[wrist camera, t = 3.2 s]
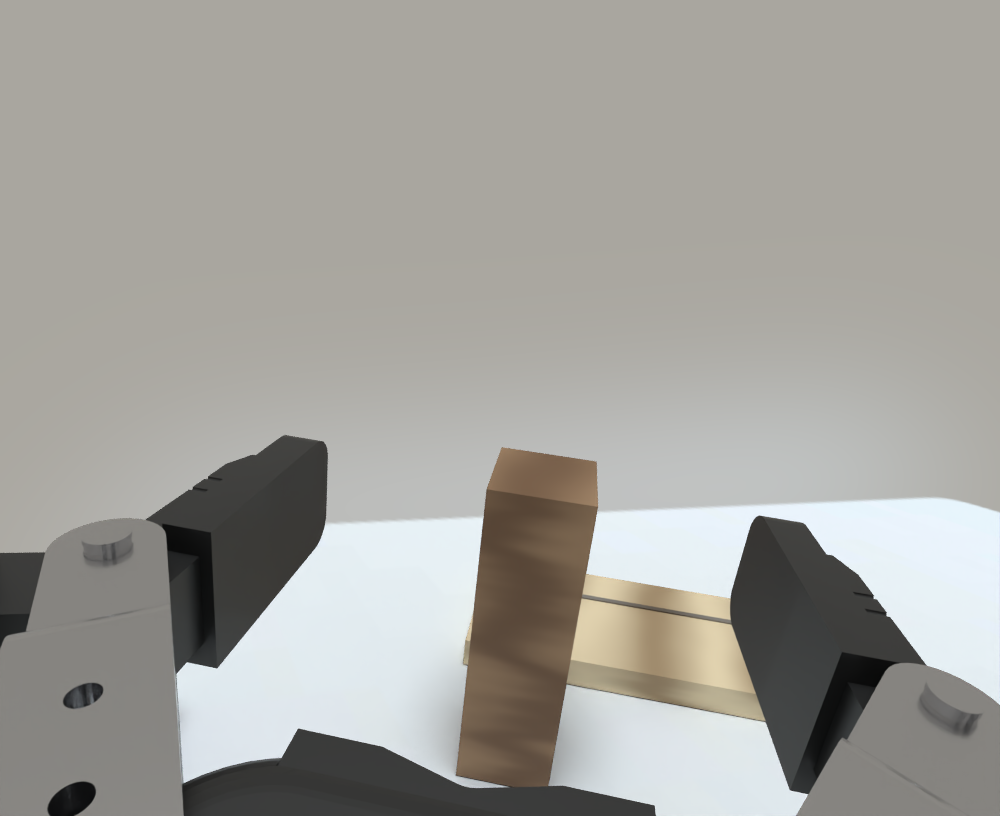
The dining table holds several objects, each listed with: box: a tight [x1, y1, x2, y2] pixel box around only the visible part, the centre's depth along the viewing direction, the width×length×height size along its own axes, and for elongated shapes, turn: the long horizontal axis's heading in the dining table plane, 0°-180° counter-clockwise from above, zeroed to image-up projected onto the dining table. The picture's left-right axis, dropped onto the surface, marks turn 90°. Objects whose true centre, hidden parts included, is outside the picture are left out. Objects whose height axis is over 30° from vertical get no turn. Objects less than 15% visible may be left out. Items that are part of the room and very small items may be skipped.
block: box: [456, 447, 598, 787], centre depth 30 cm, size 4×13×14 cm, turn 172°
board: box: [463, 574, 765, 721], centre depth 35 cm, size 22×8×2 cm, turn 82°
